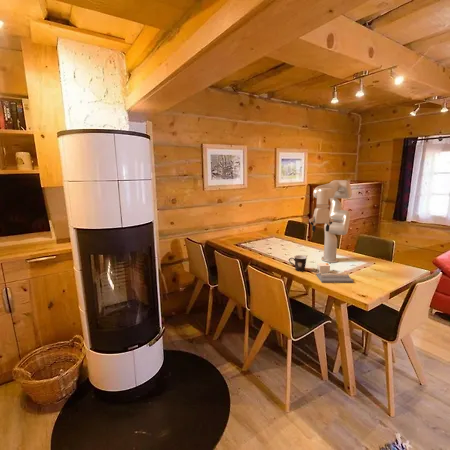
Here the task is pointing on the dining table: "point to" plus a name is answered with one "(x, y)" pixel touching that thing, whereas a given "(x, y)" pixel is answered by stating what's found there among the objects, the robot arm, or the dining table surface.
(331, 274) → the rail
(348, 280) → the mounting board
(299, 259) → the coffee mug
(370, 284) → the dining table surface
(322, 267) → the block
